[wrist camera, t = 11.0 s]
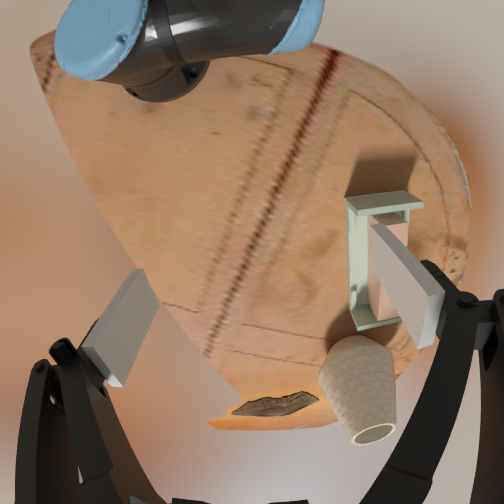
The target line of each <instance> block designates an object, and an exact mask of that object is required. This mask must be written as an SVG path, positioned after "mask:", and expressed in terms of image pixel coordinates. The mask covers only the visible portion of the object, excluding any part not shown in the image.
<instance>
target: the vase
mask: <svg viewBox="0 0 504 504" xmlns="http://www.w3.org/2000/svg"><path fill="white" fill-rule="evenodd" d="M318 384H319V387H320V389H321V390H322V392H323V394H324V395H325V397H326V399H327V401H328V402H329V404H330V406H331V408H332V409H333V411H334V413H335V415H336V416H337V418H338V420H339V422H340V423H341V425H342V427H343V428H344V430H345V432H346V433H347V435H348V437H349V439H350V441H351V442H352V443H353V444H355V445H366V444H372V443H375V442H378V441H380V440H382V439H384V438H386V437H388V436H389V435H391V434H392V433H393V432H394V431H395V429H396V386H395V367H394V357H393V355H392V353H391V351H390V350H389V349H388V348H387V347H385V346H383V345H381V344H379V343H377V342H375V341H373V340H371V339H369V338H367V337H365V336H361V335H353V336H348V337H345V338H343V339H341V340H339V341H338V342H336V343H335V344H334V345H333V346H332V347H331V349H330V350H329V352H328V354H327V356H326V358H325V361H324V363H323V365H322V367H321V369H320V371H319V374H318Z"/></svg>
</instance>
